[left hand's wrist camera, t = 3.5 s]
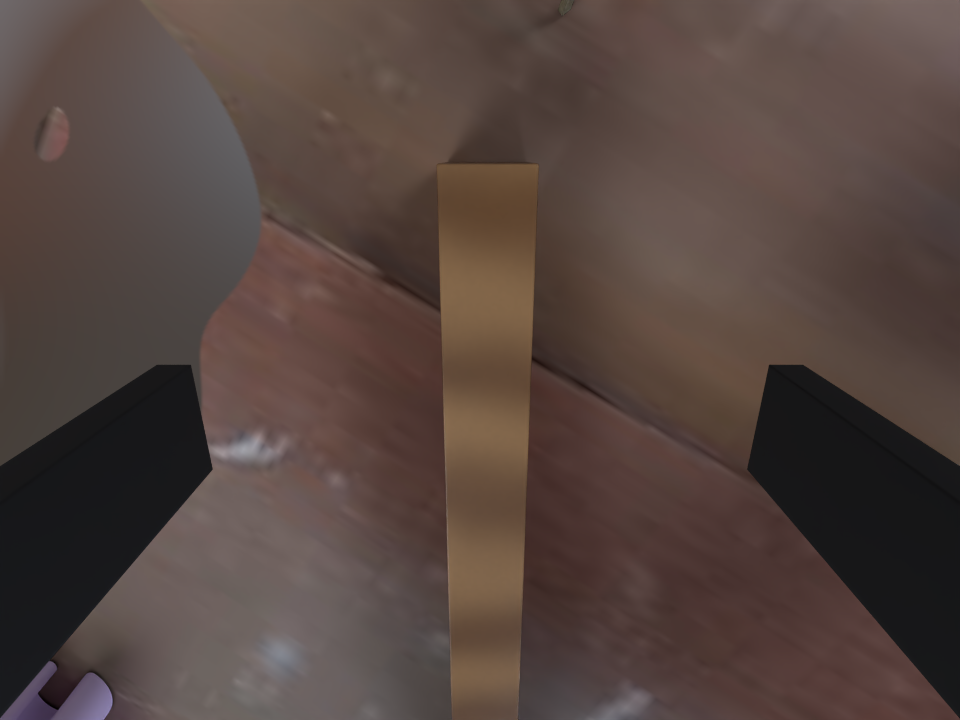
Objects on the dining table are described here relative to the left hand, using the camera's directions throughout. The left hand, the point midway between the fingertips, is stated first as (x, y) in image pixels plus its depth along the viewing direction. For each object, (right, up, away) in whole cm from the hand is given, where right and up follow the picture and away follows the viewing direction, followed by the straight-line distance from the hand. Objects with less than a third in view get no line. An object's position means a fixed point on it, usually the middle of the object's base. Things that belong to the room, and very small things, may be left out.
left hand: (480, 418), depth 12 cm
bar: (0, -14, +31) cm, 35 cm away
